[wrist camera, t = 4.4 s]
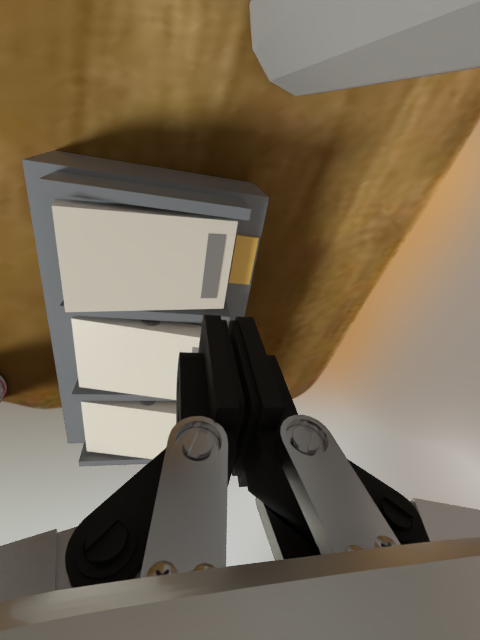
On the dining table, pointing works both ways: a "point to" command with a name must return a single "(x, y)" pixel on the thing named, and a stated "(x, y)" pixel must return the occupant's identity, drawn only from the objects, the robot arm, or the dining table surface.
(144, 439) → the panel
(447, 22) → the water bottle
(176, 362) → the panel
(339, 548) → the robot arm
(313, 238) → the dining table surface
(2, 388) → the pill bottle
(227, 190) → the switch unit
